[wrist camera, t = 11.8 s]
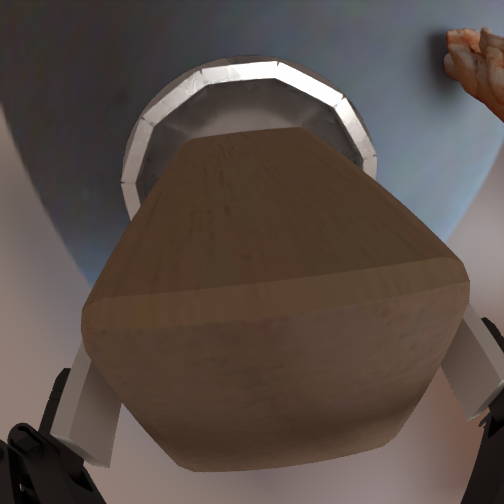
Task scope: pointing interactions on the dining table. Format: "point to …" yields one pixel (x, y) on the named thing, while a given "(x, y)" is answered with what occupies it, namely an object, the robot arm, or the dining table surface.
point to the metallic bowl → (239, 115)
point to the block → (272, 306)
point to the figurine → (478, 65)
